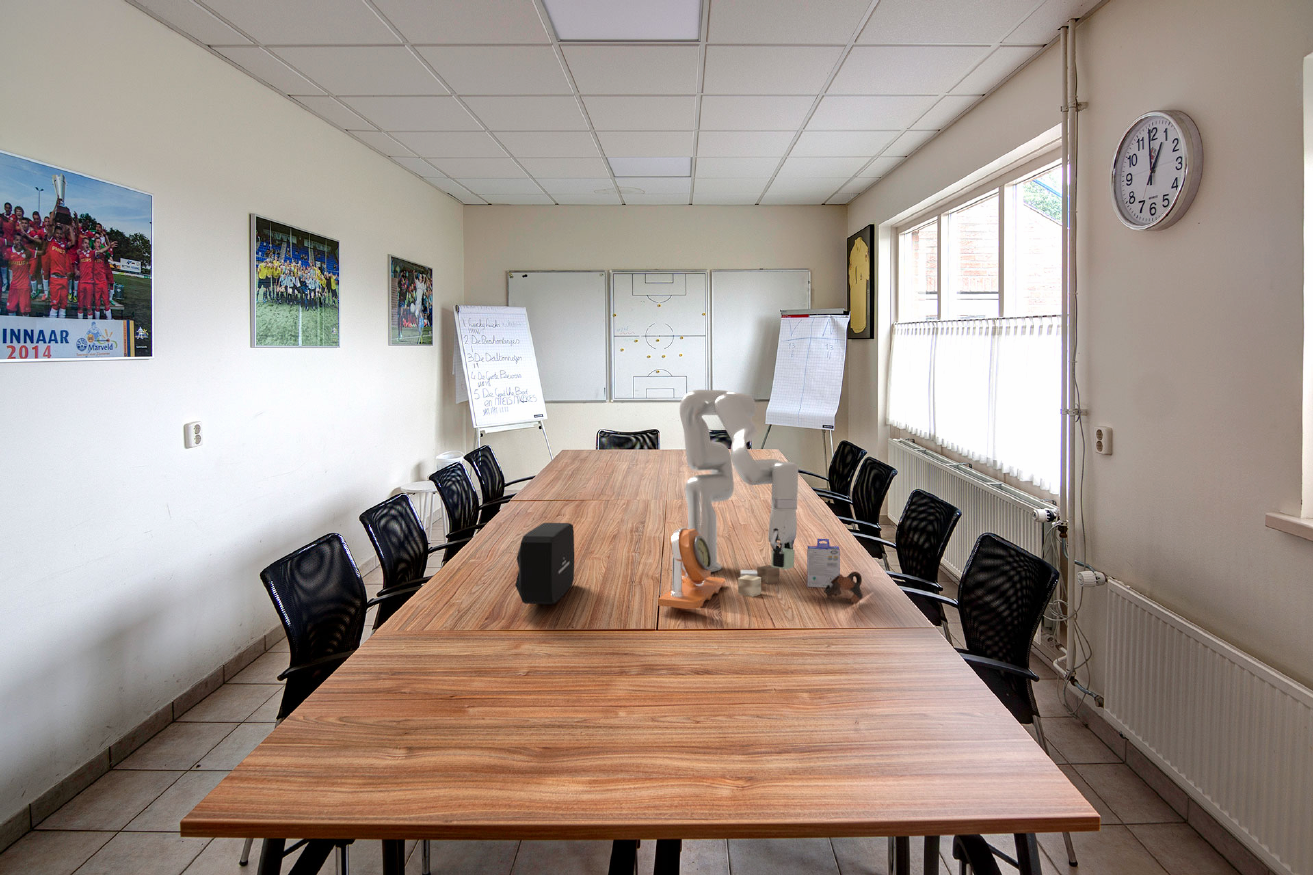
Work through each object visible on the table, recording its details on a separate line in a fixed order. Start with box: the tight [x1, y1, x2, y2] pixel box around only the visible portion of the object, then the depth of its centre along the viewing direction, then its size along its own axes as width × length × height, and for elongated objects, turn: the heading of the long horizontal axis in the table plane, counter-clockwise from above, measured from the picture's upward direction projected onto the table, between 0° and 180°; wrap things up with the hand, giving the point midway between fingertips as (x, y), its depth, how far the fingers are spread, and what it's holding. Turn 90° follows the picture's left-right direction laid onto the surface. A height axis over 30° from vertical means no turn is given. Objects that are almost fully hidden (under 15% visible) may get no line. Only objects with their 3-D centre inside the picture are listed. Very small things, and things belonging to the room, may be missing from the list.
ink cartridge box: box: [806, 538, 841, 588], centre depth 220 cm, size 10×6×14 cm, turn 79°
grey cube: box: [740, 569, 758, 577], centre depth 218 cm, size 5×5×5 cm
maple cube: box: [737, 575, 762, 598], centre depth 210 cm, size 5×5×5 cm
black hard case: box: [515, 522, 575, 605], centre depth 210 cm, size 30×12×20 cm, turn 174°
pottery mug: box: [823, 571, 864, 606], centre depth 203 cm, size 12×9×8 cm
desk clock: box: [657, 526, 726, 610], centre depth 208 cm, size 12×30×20 cm, turn 159°
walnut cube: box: [756, 564, 781, 585], centre depth 224 cm, size 5×5×5 cm
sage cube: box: [770, 548, 796, 571], centre depth 209 cm, size 5×5×5 cm
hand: (782, 564), depth 209 cm, fingers closed on sage cube, 5 cm apart
